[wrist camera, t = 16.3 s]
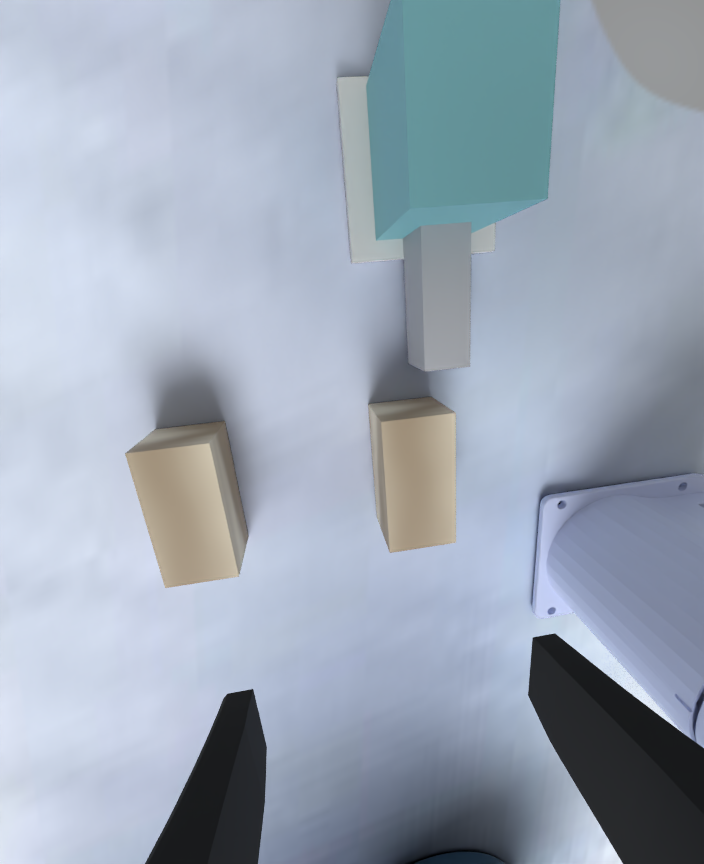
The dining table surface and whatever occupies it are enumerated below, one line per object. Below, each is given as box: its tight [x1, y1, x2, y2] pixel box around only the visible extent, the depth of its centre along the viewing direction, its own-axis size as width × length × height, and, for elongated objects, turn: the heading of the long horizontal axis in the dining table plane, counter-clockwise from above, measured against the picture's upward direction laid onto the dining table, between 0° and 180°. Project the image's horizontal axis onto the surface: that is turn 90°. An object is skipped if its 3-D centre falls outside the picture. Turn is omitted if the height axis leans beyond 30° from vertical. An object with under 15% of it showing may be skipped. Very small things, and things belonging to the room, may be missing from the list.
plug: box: [366, 0, 560, 372], centre depth 13 cm, size 4×10×5 cm, turn 5°
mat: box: [337, 76, 496, 264], centre depth 15 cm, size 6×6×1 cm
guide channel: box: [125, 397, 456, 588], centre depth 17 cm, size 12×6×3 cm, turn 95°
